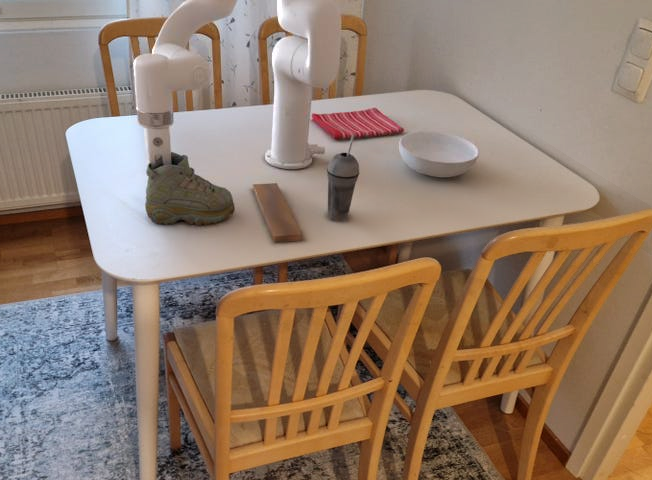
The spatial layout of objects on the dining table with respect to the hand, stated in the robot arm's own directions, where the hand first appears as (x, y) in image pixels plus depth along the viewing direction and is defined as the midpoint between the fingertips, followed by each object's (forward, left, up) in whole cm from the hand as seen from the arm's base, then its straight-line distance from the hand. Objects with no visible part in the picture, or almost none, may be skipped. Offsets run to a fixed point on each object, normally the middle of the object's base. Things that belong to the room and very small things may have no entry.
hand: (159, 192), depth 144 cm
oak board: (-25, +8, -3) cm, 27 cm away
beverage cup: (-39, +11, -3) cm, 41 cm away
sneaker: (-6, +6, -3) cm, 10 cm away
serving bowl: (-73, -10, -3) cm, 74 cm away
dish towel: (-61, -40, -3) cm, 73 cm away
